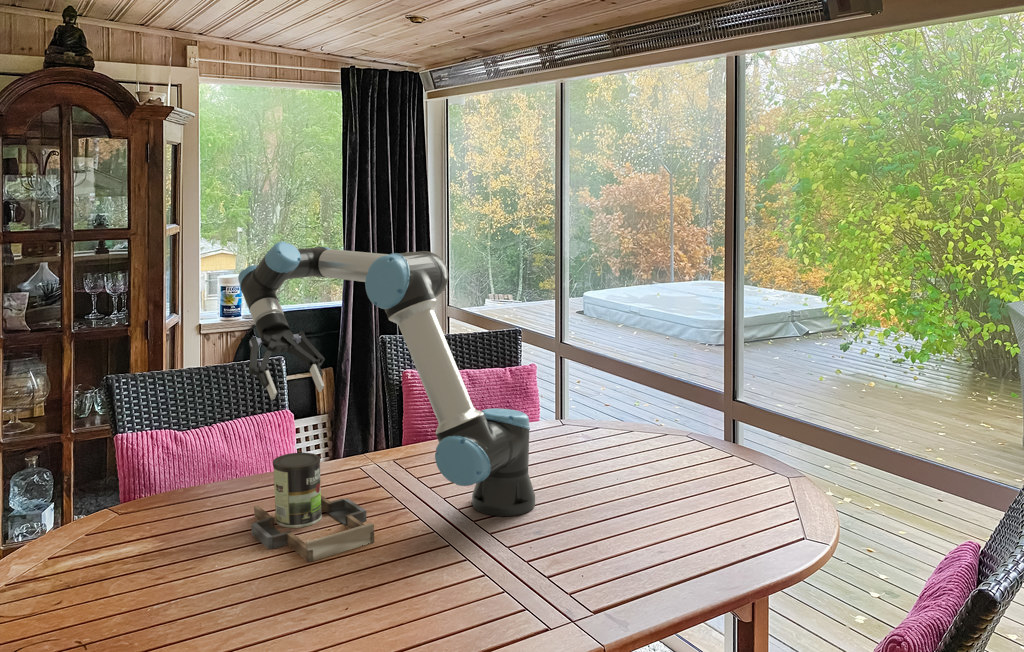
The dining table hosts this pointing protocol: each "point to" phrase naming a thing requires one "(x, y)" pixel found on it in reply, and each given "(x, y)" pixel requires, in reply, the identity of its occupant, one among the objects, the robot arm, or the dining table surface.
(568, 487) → the dining table surface
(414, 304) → the robot arm
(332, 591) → the dining table surface
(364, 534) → the box
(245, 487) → the dining table surface
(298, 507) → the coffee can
